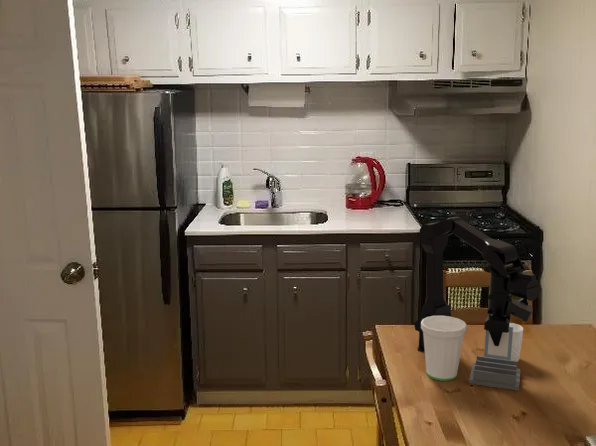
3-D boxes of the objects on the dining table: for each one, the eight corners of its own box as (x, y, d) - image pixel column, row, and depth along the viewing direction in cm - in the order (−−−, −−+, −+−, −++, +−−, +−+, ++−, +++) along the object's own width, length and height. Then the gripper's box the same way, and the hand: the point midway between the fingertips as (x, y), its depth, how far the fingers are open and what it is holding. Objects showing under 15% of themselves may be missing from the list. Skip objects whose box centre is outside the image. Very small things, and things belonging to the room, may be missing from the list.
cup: (427, 361, 191) (429, 312, 187) (469, 370, 184) (472, 320, 181) (412, 377, 180) (414, 326, 177) (456, 388, 174) (459, 334, 171)
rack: (468, 383, 177) (469, 371, 176) (473, 365, 188) (473, 354, 187) (518, 390, 172) (519, 378, 171) (520, 372, 183) (521, 360, 182)
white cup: (515, 366, 187) (518, 334, 185) (489, 360, 192) (491, 328, 189) (524, 357, 193) (527, 326, 191) (498, 351, 198) (500, 320, 196)
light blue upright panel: (484, 356, 179) (486, 326, 177) (484, 354, 180) (486, 324, 179) (510, 360, 177) (512, 329, 175) (510, 358, 178) (513, 327, 176)
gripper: (531, 304, 163) (526, 362, 167) (532, 283, 180) (528, 336, 184) (485, 299, 167) (482, 356, 170) (491, 279, 184) (487, 331, 187)
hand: (496, 344), depth 178 cm, fingers closed on light blue upright panel, 2 cm apart
